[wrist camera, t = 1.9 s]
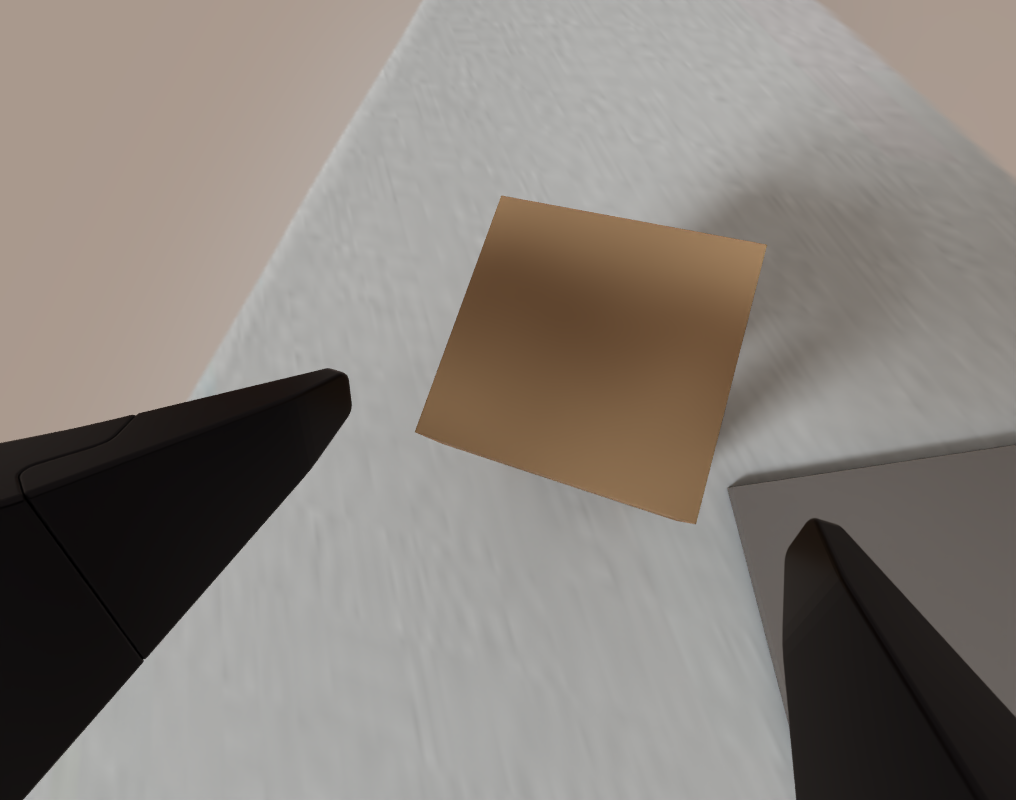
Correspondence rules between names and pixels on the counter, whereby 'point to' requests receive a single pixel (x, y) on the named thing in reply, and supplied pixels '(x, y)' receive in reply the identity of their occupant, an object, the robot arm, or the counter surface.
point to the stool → (596, 353)
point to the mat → (906, 546)
